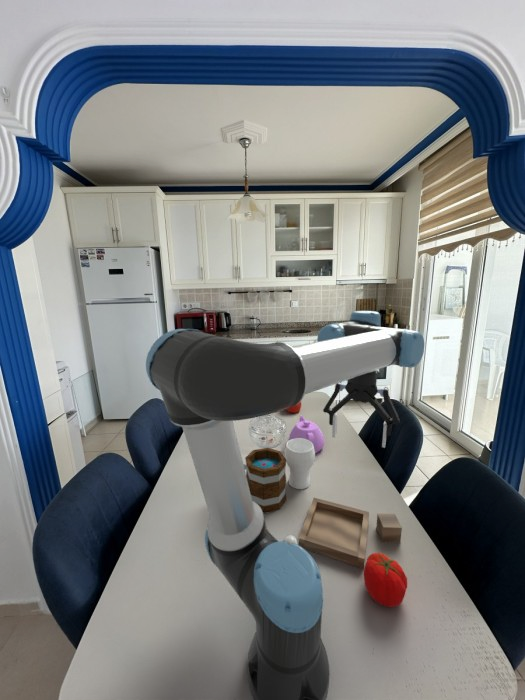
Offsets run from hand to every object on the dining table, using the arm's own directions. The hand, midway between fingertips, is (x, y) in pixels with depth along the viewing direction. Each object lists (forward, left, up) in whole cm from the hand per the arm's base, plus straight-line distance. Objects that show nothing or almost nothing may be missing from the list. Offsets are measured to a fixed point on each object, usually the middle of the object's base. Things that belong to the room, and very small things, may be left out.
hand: (358, 440), depth 85 cm
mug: (-2, +31, -27) cm, 41 cm away
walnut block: (-2, -10, -27) cm, 29 cm away
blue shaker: (-22, +13, -27) cm, 37 cm away
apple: (+70, +41, -27) cm, 85 cm away
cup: (+11, +20, -27) cm, 35 cm away
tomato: (-20, -9, -27) cm, 35 cm away
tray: (-7, +4, -27) cm, 28 cm away
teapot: (+36, +24, -27) cm, 51 cm away
